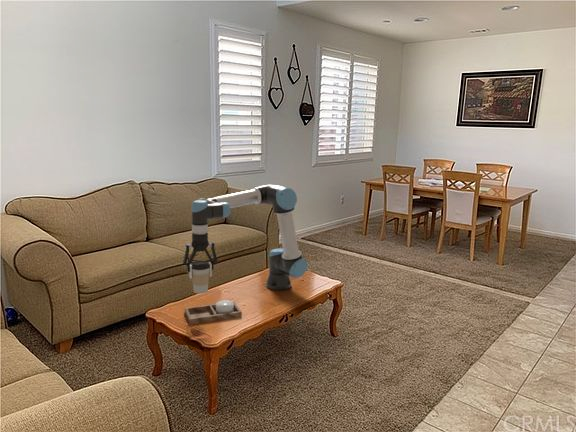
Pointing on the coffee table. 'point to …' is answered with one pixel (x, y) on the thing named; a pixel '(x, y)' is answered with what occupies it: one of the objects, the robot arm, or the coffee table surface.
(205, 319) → the box
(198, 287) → the coffee cup
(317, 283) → the coffee table surface
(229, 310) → the white ceramic dome
